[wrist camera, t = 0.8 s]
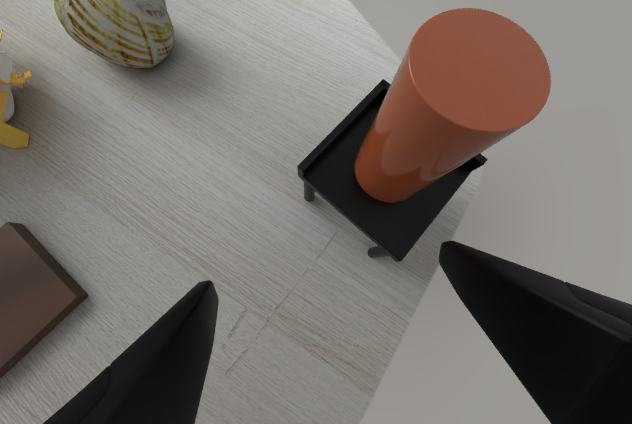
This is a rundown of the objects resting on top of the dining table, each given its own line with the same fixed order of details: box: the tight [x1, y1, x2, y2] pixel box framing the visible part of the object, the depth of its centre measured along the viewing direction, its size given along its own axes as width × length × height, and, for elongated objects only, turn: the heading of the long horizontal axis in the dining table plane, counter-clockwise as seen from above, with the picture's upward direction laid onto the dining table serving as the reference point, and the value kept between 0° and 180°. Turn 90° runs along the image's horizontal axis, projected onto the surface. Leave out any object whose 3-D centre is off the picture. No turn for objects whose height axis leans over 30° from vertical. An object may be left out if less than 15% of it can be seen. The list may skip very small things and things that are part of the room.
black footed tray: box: [297, 79, 487, 262], centre depth 22 cm, size 10×10×8 cm
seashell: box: [54, 0, 174, 68], centre depth 25 cm, size 10×10×10 cm
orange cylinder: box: [355, 8, 551, 203], centre depth 14 cm, size 5×5×10 cm
